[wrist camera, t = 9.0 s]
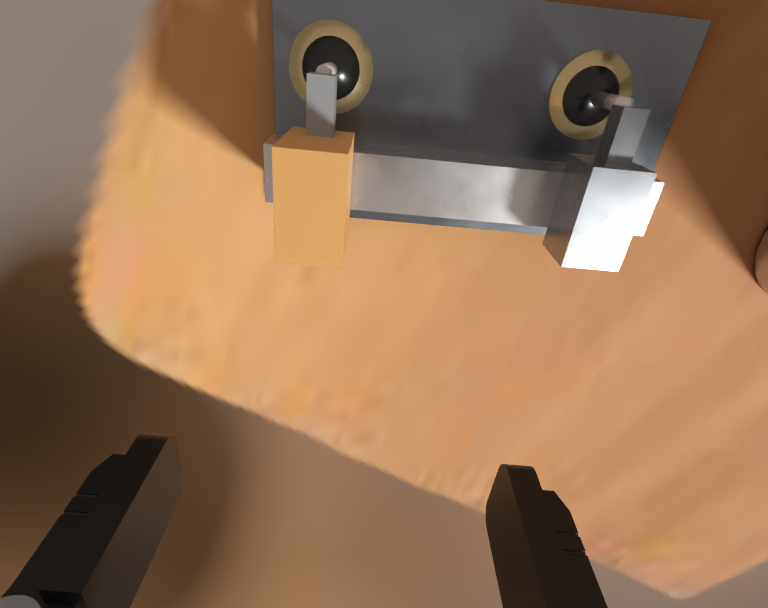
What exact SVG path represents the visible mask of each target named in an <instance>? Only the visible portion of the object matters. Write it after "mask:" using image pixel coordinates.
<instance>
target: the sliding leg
mask: <svg viewBox="0 0 768 608" xmlns="http://www.w3.org/2000/svg"><path fill="white" fill-rule="evenodd" d="M336 74H337V67H336V65H335V64H334V63H332V62H327V63H325V64H322V65H319V66H318V67H317V69H316V72H308V73H307V94H306V128H303V127H292V128H291V129H290V130H289V131H288V132H287V133H286V134H285V135H284V136H283V137H281V138H280V139H279V140H278V141H277V142H276V143H275V144H274V145H273V146H272V175H273V210H274V246H275V263H282V264H294V265H306V266H318V267H330V268H342V267H343V261H344V255H345V249H346V243H347V237H348V231H349V218H350V201H351V185H352V168H353V151H354V135H355V133H353V132H343V131H335V121H336V96H337V75H336Z"/></svg>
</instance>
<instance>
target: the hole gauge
mask: <svg viewBox="0 0 768 608" xmlns="http://www.w3.org/2000/svg"><path fill="white" fill-rule="evenodd" d="M711 21H712V20H705V19H696V18H688V17H679V16H671V15H663V14H654V13H646V12H638V11H629V10H621V9H612V8H604V7H596V6H587V5H579V4H571V3H562V2H554V1H545V0H272V22H273V64H274V105H275V134H274V135H273V136H271V137H270V138H269V139H268V140H267V141H266V142H264V143H263V154H264V181H265V202H273V175H272V146H273V145H274V144H275V143H276V142H277V141H278V140H279V139H280V138H281V137H283V136H284V135H285V134H286V133H287V132H288V131H289V130H290V129H291V128H292V127H303V128H306V94H307V73H308V72H316V69H317V67H318V66H319V65H322V64H325V63H327V62H332V63H334V64H335V65H336V67H337V74H336V75H337V96H336V121H335V131H343V132H353V133H355V135H354V151H353V168H352V185H351V201H350V217H351V218H363V219H374V220H385V221H396V222H407V223H419V224H430V225H441V226H452V227H463V228H474V229H486V230H497V231H508V232H519V233H530V234H541V235H545V238H544V241H543V245H544V246H545V248H546V249H547V250H548V251H549V253H550V254H551V255H552V256H553V257H554V259H555V260H556V261H557V262H558V264H559V265H560V266H561V267H569V268H581V269H592V270H604V271H616V272H618V271H619V269H620V266H621V264H622V261H623V259H624V256H625V254H626V251H627V249H628V246H629V243H630V241H631V238H632V236H633V235H638V236H643V235H644V232H645V230H646V227H647V225H648V222H649V220H650V218H651V215H652V213H653V210H654V208H655V205H656V203H657V201H658V198H659V196H660V193H661V191H662V188H663V186H664V182H662V181H660V180H658V179H656V176H657V173H656V172H654V171H653V169H654V167H655V164H656V162H657V159H658V157H659V154H660V151H661V149H662V146H663V144H664V141H665V139H666V136H667V134H668V131H669V128H670V126H671V123H672V121H673V118H674V116H675V113H676V111H677V108H678V106H679V103H680V100H681V98H682V95H683V93H684V90H685V88H686V85H687V83H688V80H689V77H690V75H691V72H692V70H693V67H694V65H695V62H696V60H697V57H698V54H699V52H700V49H701V47H702V44H703V42H704V39H705V37H706V34H707V31H708V29H709V26H710V24H711Z"/></svg>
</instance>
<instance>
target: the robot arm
mask: <svg viewBox="0 0 768 608" xmlns="http://www.w3.org/2000/svg"><path fill="white" fill-rule="evenodd" d="M755 274H756V277H757V280H758V282H759V284H760V286H761V287H762V288H763V289H764V291H765V292H766V293H768V230H767V231H766V233H765V234H764V236H763V238H762V240H761V243H760V245H759V247H758V250H757V254H756V259H755ZM182 488H183V472H182V466H181V460H180V454H179V448H178V442H177V438H176V437H175V436H174V435H163V434H151V433H141V434H140V435H139V436H138V437H137V438H136V439H135V441H134V442H133V444H132V445H131V447H130V448H129V450H128V451H127V453H126V454H125V455H119V454H112V455H111V456H110V457H109V458H108V459H106V460H105V461H104V462H102V463H101V464H100V465H99V466H98V467H96V468H95V469H94V470H92V471H91V473H90V474H89V475H88V477H87V478H86V480H85V481H84V483H83V484H82V485H81V487H80V488H79V490H78V491H77V494H76V496H75V497H73V498H72V500H71V501H70V503H69V504H68V505H67V507H66V508H65V510H64V514H63V515H60V517H59V518H58V520H57V521H56V523H55V524H54V525H53V527H52V528H51V530H50V531H49V533H48V534H47V536H46V537H45V538H44V540H43V541H42V543H41V544H40V545H39V547H38V548H37V550H36V551H35V553H34V554H33V556H32V557H31V558H30V560H29V561H28V563H27V564H26V565H25V567H24V568H23V570H22V571H21V573H20V574H19V575H18V577H17V578H16V580H15V581H14V583H13V584H12V585H11V586H10V588H9V589H8V590H7V591H6V593H4V595H3V596H2V597H1V598H0V608H130V607H131V604H132V602H133V600H134V598H135V596H136V594H137V592H138V589H139V587H140V585H141V583H142V580H143V578H144V576H145V574H146V572H147V570H148V568H149V565H150V563H151V561H152V559H153V557H154V555H155V552H156V550H157V548H158V546H159V544H160V541H161V539H162V537H163V535H164V533H165V531H166V528H167V526H168V524H169V522H170V520H171V518H172V515H173V513H174V511H175V509H176V507H177V505H178V502H179V500H180V496H181V493H182ZM486 526H487V532H488V537H489V542H490V547H491V551H492V556H493V561H494V566H495V571H496V576H497V580H498V585H499V591H500V596H501V600H502V605H503V608H608V607H607V605H606V602H605V600H604V597H603V595H602V592H601V590H600V587H599V585H598V582H597V579H596V577H595V574H594V572H593V569H592V567H591V564H590V561H589V559H588V556H586V555H585V549H584V546H583V544H582V541H581V538H580V537H578V531H577V528H576V526H575V523H574V521H573V518H572V516H571V513H570V511H569V509H568V508H567V507H566V506H565V504H564V503H563V502H562V501H561V499H560V498H559V497H558V496H557V494H556V493H555V492H554V491H547V490H542V488H541V485H540V482H539V479H538V477H537V474H536V471H535V470H534V468H533V467H531V466H520V465H508V464H501V465H500V467H499V469H498V472H497V475H496V478H495V481H494V484H493V486H492V489H491V492H490V495H489V498H488V501H487V505H486Z"/></svg>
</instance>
